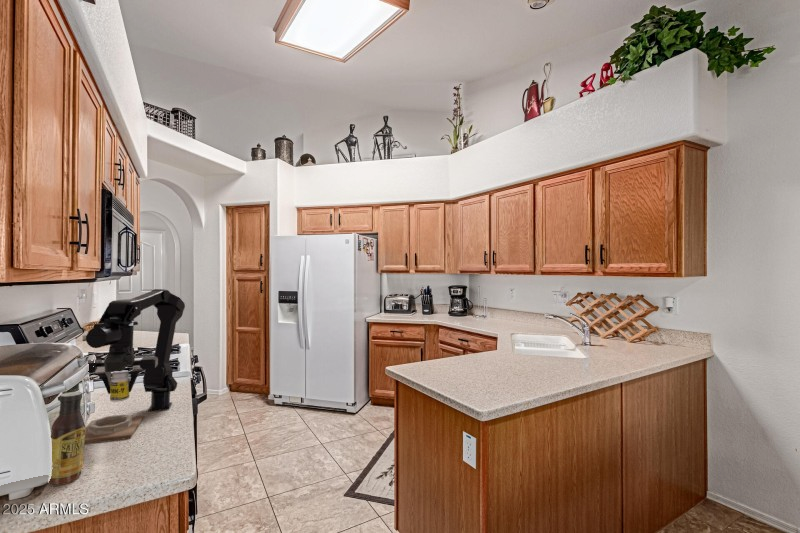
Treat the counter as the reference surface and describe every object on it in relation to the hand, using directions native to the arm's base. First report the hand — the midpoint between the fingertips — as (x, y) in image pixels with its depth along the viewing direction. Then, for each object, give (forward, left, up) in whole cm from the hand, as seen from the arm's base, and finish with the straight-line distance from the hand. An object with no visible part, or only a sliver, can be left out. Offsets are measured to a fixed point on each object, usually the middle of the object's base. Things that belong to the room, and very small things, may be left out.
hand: (119, 392), depth 116 cm
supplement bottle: (0, 0, -2) cm, 2 cm away
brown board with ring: (-1, -2, -12) cm, 12 cm away
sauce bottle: (+28, -3, -12) cm, 30 cm away
